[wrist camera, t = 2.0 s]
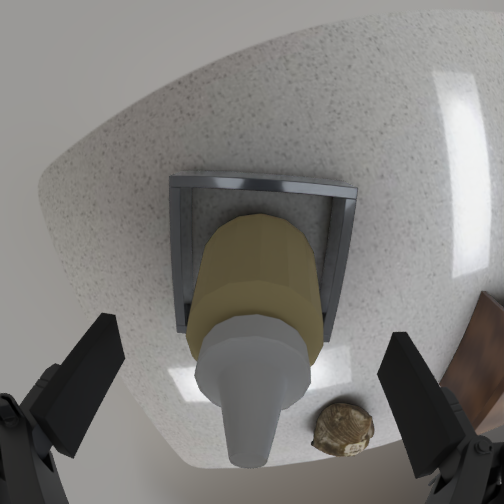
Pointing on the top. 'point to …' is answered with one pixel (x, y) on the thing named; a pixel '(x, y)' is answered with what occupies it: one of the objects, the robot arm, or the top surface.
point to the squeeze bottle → (255, 328)
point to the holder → (190, 179)
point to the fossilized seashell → (343, 430)
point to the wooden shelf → (480, 367)
